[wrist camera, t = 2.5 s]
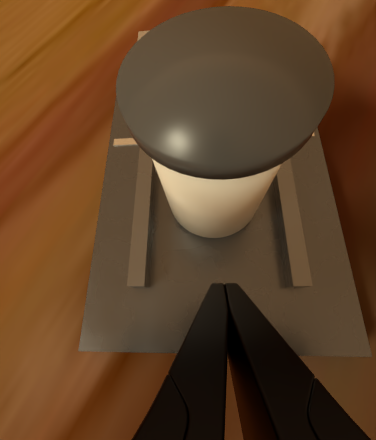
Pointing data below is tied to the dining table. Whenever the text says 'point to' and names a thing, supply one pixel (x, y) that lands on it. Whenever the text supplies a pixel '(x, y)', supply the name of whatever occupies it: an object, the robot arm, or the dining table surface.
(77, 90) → the dining table surface
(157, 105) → the knob
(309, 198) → the knob mount
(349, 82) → the dining table surface
